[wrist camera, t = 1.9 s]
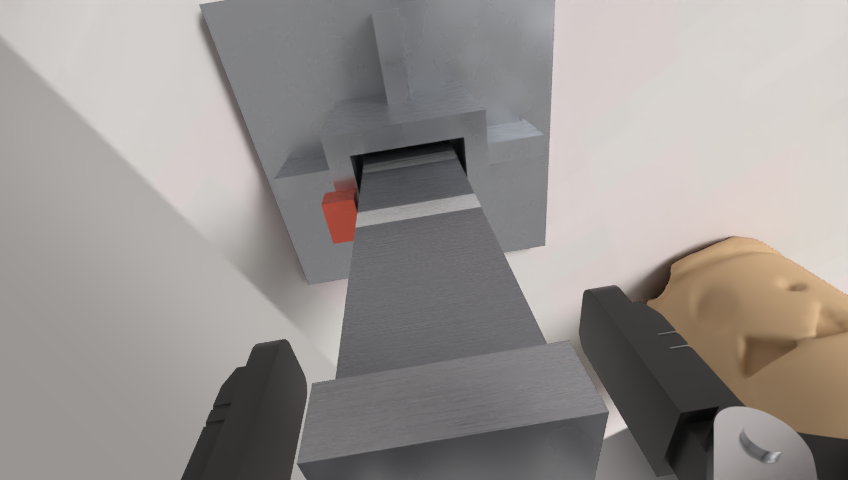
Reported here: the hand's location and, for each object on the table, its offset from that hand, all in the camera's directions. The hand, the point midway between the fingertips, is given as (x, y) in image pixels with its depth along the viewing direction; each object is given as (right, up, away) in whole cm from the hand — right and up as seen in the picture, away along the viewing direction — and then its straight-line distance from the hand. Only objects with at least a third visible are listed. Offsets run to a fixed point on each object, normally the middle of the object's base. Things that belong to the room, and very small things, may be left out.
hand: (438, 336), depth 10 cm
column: (-1, +8, +13) cm, 15 cm away
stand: (-2, +9, +14) cm, 17 cm away
